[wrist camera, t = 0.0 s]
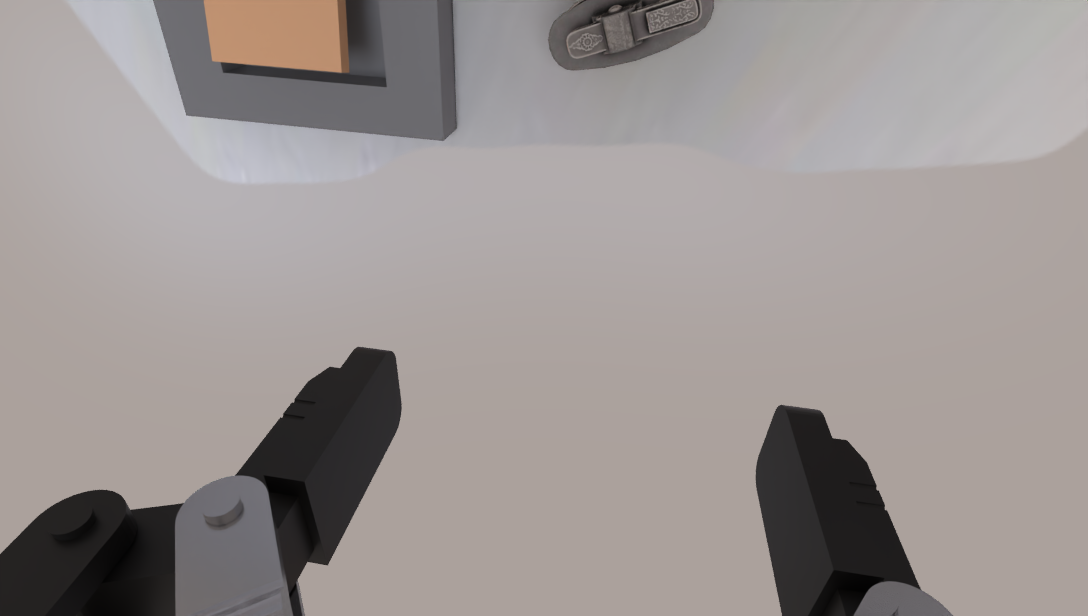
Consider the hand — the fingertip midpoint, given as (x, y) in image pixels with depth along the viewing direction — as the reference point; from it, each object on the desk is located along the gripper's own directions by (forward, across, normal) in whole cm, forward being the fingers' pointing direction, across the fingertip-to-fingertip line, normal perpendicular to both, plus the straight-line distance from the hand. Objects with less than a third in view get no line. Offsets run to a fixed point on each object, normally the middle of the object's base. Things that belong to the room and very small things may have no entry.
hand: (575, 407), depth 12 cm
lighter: (+30, 0, -5) cm, 30 cm away
